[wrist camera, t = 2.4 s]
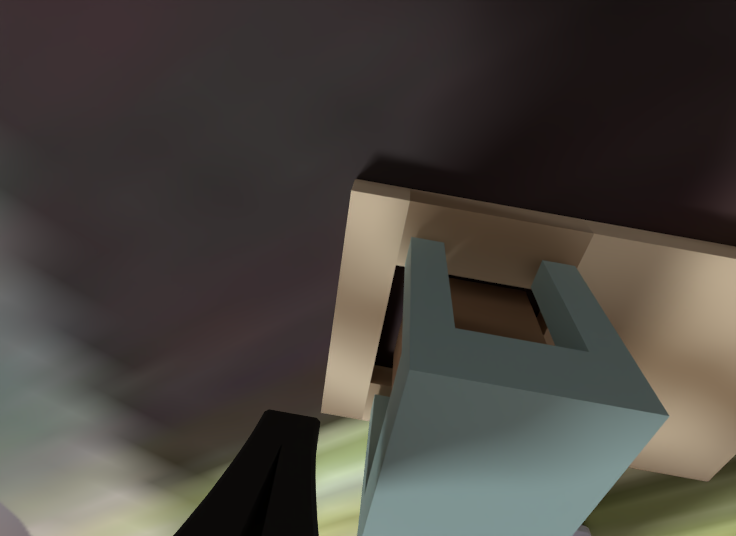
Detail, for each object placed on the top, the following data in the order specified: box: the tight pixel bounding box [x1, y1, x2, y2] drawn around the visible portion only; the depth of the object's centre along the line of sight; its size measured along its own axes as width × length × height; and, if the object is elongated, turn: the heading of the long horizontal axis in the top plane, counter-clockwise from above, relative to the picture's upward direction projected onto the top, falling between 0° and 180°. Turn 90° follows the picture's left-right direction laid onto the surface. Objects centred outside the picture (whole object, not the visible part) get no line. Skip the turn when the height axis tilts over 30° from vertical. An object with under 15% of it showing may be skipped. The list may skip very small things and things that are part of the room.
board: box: [321, 179, 736, 482], centre depth 15 cm, size 10×16×1 cm, turn 82°
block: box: [391, 278, 546, 392], centre depth 14 cm, size 4×4×5 cm
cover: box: [357, 237, 669, 536], centre depth 12 cm, size 8×5×6 cm, turn 171°
